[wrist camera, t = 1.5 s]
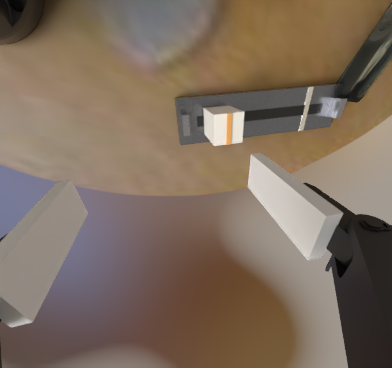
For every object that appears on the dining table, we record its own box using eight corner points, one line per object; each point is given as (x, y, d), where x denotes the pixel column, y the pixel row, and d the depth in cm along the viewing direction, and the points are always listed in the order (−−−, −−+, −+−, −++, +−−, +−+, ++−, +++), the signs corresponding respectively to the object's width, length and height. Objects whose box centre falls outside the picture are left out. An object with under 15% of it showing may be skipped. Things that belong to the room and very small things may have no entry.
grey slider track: (174, 97, 28) (176, 100, 25) (333, 83, 31) (355, 84, 28) (179, 141, 32) (182, 149, 28) (321, 124, 35) (339, 129, 32)
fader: (203, 107, 27) (214, 115, 22) (228, 105, 28) (245, 111, 22) (204, 134, 29) (214, 146, 24) (227, 131, 30) (242, 142, 24)
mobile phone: (362, 105, 29) (453, -16, 23) (351, 98, 28) (442, -31, 22) (337, 100, 33) (407, -3, 27) (326, 94, 32) (396, -14, 26)
